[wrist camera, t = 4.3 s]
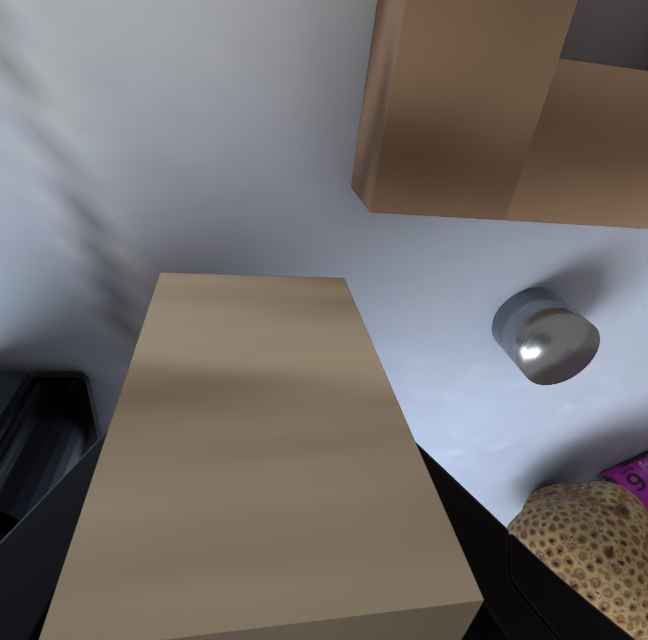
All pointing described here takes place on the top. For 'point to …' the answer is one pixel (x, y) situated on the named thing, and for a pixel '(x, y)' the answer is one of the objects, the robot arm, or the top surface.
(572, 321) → the grey metal cylinder
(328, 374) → the tan cardboard cuboid
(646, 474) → the candy bar box
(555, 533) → the natural sponge
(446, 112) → the hole block
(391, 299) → the top surface
